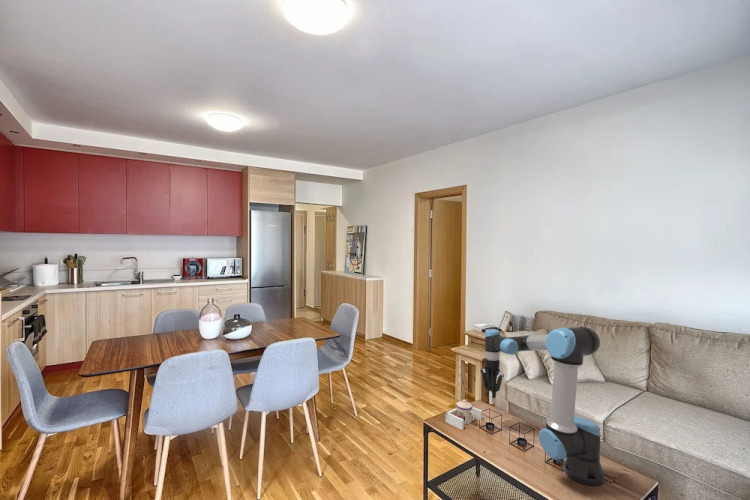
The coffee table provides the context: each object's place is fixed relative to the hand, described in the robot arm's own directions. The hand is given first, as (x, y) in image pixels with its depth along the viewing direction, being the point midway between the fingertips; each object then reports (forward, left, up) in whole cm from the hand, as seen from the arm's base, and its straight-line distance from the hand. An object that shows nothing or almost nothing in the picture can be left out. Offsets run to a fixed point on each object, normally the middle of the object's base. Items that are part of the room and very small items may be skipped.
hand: (491, 403), depth 191 cm
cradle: (+16, +3, -15) cm, 22 cm away
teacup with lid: (+14, +3, -15) cm, 21 cm away
